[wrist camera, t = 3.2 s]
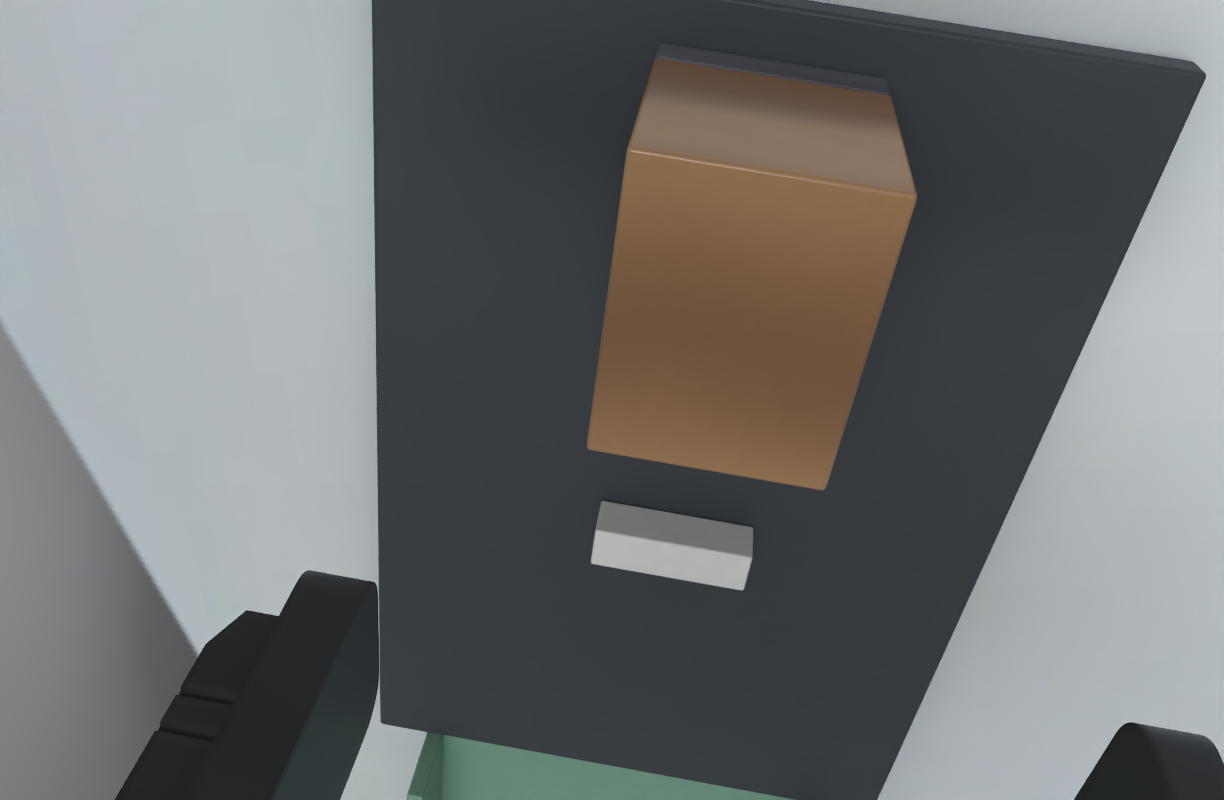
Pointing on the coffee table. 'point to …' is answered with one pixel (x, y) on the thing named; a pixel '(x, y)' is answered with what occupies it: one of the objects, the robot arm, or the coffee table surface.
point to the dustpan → (543, 777)
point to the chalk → (673, 545)
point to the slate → (778, 513)
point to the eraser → (748, 264)
